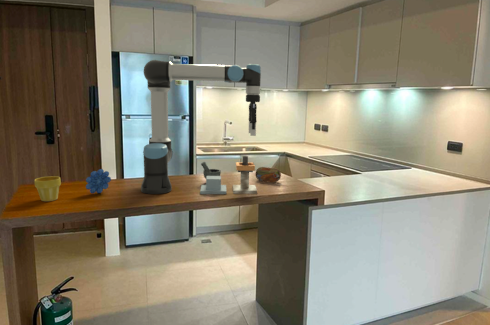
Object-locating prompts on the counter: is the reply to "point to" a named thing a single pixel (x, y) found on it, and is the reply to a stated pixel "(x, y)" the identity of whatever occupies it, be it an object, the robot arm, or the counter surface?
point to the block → (213, 186)
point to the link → (245, 166)
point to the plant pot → (48, 187)
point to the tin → (268, 174)
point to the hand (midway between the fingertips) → (251, 134)
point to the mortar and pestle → (210, 171)
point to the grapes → (98, 181)
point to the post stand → (244, 181)
